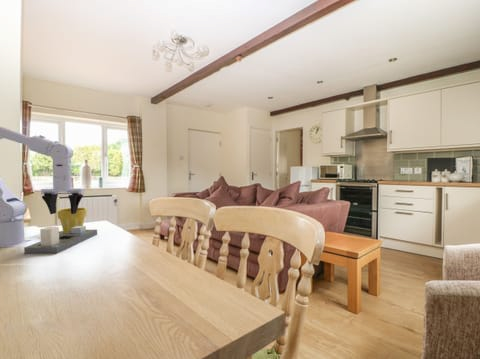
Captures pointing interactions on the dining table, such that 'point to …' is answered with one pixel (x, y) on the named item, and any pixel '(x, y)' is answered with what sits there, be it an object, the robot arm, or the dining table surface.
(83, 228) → the white cube
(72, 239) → the grey slotted board
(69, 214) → the plant pot
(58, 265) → the dining table surface
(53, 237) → the plug
